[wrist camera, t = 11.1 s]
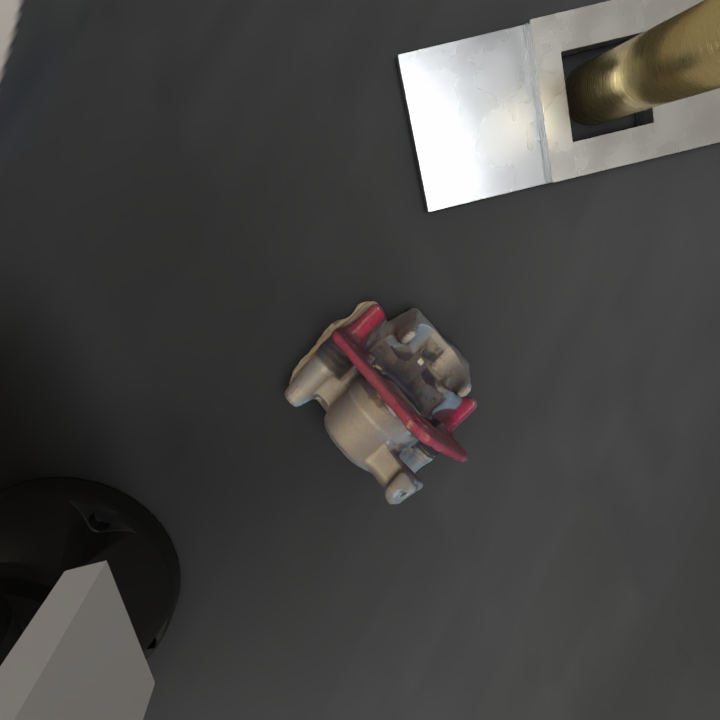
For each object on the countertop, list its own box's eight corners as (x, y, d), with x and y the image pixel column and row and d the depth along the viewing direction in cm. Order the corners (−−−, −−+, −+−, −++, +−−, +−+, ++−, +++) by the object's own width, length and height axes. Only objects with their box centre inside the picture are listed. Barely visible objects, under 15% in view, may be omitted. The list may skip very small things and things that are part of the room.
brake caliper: (532, 369, 38) (493, 520, 30) (417, 427, 46) (360, 560, 38) (409, 243, 36) (329, 370, 27) (309, 326, 43) (222, 445, 35)
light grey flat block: (540, 183, 38) (553, 182, 36) (518, 29, 36) (529, 19, 34) (775, 126, 38) (800, 122, 36) (768, -30, 36) (794, -44, 34)
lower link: (425, 211, 38) (428, 212, 37) (395, 58, 35) (397, 55, 34) (662, 154, 38) (671, 152, 37) (647, -1, 36) (657, -7, 35)
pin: (567, 131, 37) (731, 81, 23) (559, 69, 36) (724, -23, 22) (623, 117, 37) (821, 60, 23) (616, 55, 36) (819, -46, 22)
